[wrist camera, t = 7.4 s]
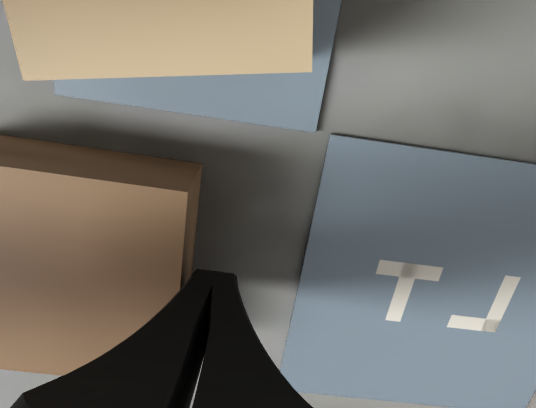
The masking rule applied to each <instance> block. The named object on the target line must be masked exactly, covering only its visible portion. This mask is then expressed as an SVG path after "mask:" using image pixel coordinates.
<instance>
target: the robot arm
mask: <svg viewBox="0 0 536 408" xmlns="http://www.w3.org/2000/svg"><path fill="white" fill-rule="evenodd" d="M203 358H204V360H203ZM202 362H203V364H202ZM201 365H202V369H201ZM200 369H201V373H200V378H199V382H198V386H197V391H196V395H195V399H194V403H193V407H192V408H313V407H312V406H311V405H310V404H308V403H307V402H306V401H305V400H304V399H303V398H302V397H301V396H300V395H299V394H298V393H297V391H296V390H295V389H294V388H293V387H292V386H291V384H290V383H289V382H288V381H287V379H286V378H285V377H284V376H283V374H282V373H281V372H280V371H279V369H278V368H277V367H276V365H275V364H274V362H273V361H272V360H271V358H270V357H269V355H268V354H267V352H266V350H265V349H264V347H263V345H262V344H261V342H260V340H259V338H258V336H257V335H256V333H255V331H254V329H253V326H252V324H251V322H250V320H249V318H248V315H247V313H246V310H245V308H244V305H243V302H242V299H241V296H240V293H239V289H238V284H237V277H236V275H235V274H234V273H225V272H217V271H209V270H200V269H197V270H196V271H194V272H193V274H192V275H191V277H190V278H189V279H188V281H187V282H186V283H185V285H184V286H183V287H182V288H181V289H180V290H179V292H178V293H177V294H176V295H175V296H174V297H173V298H172V299H171V300H170V301H169V302H168V303H167V304H166V305H165V306H164V307H163V308H162V309H161V310H160V311H159V312H158V313H157V314H156V315H155V316H154V317H153V318H151V319H150V320H149V321H148V322H147V323H146V324H145V325H143V326H142V327H141V328H140V329H138V330H137V331H136V332H135V333H133V334H132V335H131V336H129V337H128V338H127V339H125V340H124V341H122V342H121V343H119V344H118V345H116V346H115V347H114V348H112V349H111V350H109V351H108V352H106V353H104V354H103V355H101V356H100V357H98V358H96V359H94V360H92V361H91V362H89V363H87V364H85V365H83V366H81V367H79V368H77V369H76V370H74V371H72V372H70V373H68V374H65V375H63V376H61V377H59V378H57V379H54V380H52V381H50V382H48V383H45V384H43V385H41V386H38V387H36V388H34V389H31V390H29V391H26V392H24V393H22V395H21V396H20V397H19V398H18V399H17V401H16V402H15V403H14V404H13V405H12V406H11V407H10V408H189V407H190V404H191V400H192V397H193V393H194V390H195V386H196V383H197V379H198V376H199V372H200Z"/></svg>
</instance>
